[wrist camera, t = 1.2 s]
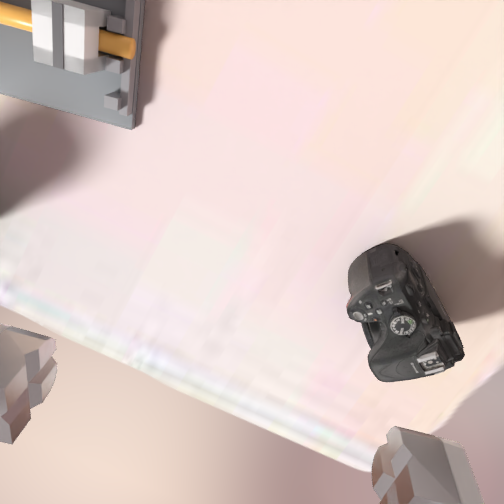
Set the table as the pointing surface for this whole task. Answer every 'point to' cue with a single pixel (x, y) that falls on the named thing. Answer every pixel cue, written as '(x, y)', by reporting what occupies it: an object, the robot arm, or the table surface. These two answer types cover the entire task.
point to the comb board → (70, 83)
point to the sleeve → (68, 35)
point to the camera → (400, 316)
